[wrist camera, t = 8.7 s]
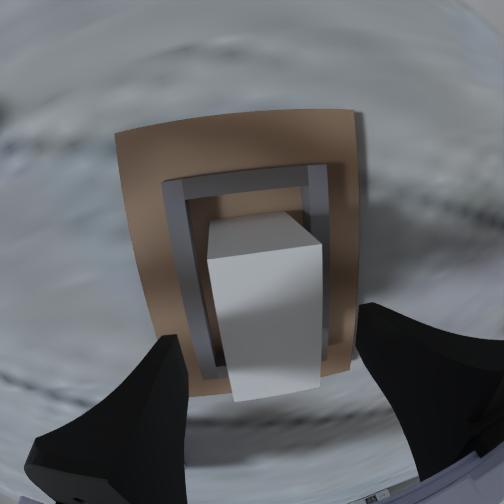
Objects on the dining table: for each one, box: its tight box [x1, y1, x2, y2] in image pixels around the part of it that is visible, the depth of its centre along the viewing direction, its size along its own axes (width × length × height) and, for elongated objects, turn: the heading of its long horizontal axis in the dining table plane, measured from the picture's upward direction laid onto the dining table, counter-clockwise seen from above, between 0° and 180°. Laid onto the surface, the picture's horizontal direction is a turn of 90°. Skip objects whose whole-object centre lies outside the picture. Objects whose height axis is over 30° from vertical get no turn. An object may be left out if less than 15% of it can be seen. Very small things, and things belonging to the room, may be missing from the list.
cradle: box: [115, 109, 359, 397], centre depth 17 cm, size 18×13×2 cm
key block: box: [207, 211, 323, 402], centre depth 14 cm, size 4×7×6 cm, turn 6°
